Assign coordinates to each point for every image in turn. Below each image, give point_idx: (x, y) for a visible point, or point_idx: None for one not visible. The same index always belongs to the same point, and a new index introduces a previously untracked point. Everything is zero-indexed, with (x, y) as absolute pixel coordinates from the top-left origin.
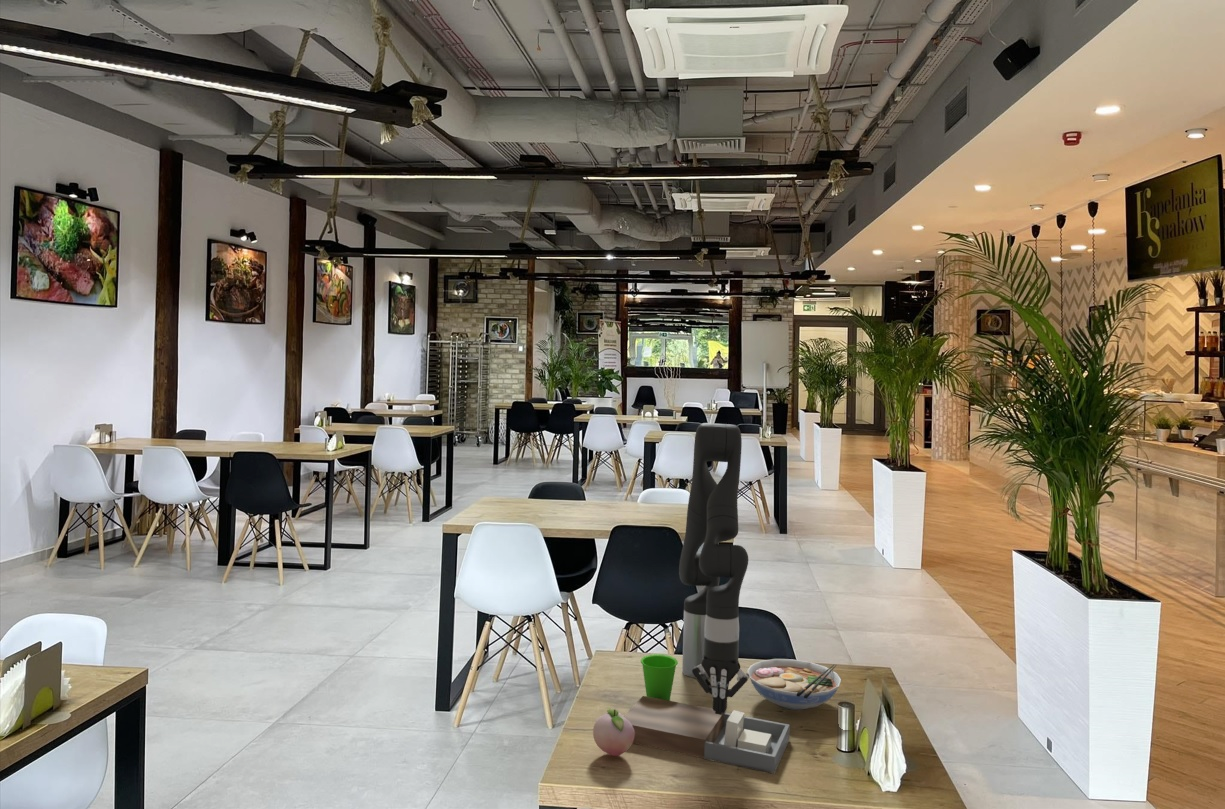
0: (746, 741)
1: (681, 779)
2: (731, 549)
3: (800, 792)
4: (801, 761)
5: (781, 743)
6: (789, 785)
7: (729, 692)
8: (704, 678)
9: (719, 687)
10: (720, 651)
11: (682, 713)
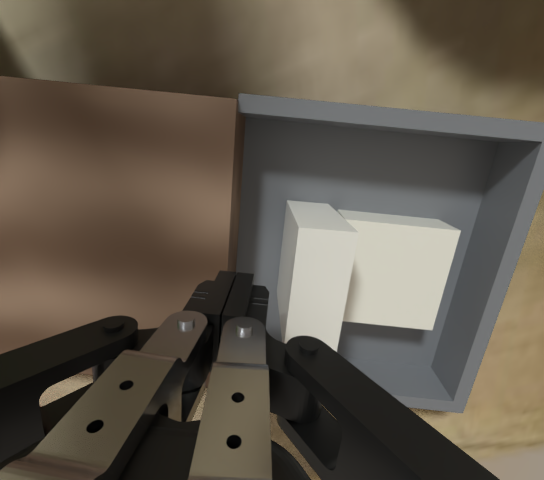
0: (360, 318)
1: None
2: None
3: (498, 434)
4: (531, 279)
5: (497, 310)
6: (473, 413)
7: (289, 429)
8: (21, 437)
9: (193, 360)
10: None
11: (63, 201)
